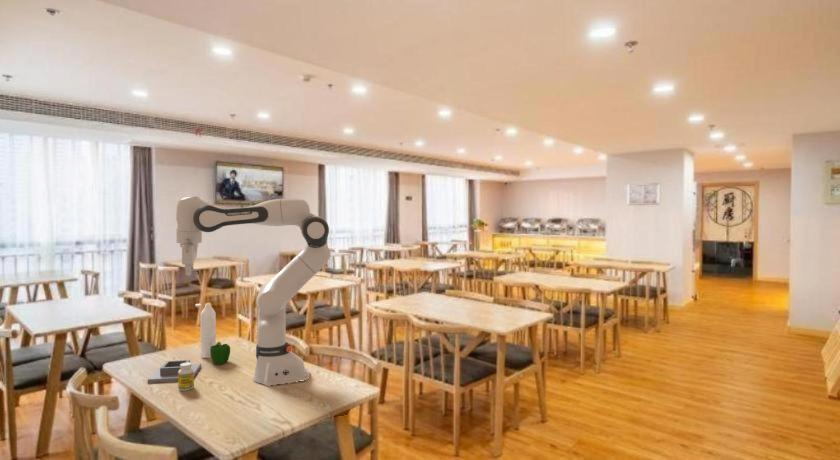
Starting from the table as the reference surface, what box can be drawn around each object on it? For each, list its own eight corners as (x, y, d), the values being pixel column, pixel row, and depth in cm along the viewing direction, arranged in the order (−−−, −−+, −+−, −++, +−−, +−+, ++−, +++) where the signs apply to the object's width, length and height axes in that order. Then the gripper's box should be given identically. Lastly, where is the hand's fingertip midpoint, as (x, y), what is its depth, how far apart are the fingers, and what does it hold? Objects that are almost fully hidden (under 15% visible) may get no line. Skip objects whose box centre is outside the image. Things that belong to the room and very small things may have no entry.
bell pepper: (219, 358, 214) (219, 337, 213) (234, 361, 211) (234, 339, 211) (205, 364, 206) (205, 342, 206) (220, 367, 203) (220, 344, 203)
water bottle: (213, 353, 222) (213, 301, 221) (217, 356, 217) (217, 303, 215) (193, 356, 216) (193, 303, 215) (197, 360, 211) (197, 305, 210)
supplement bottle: (192, 384, 184) (192, 360, 183) (194, 389, 179) (194, 364, 179) (177, 387, 181) (177, 363, 180) (179, 392, 176) (178, 367, 176)
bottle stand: (200, 366, 203) (200, 356, 203) (191, 380, 188) (191, 369, 187) (160, 368, 200) (160, 358, 199) (147, 383, 184) (147, 371, 184)
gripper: (196, 240, 174) (196, 277, 174) (199, 236, 192) (200, 269, 193) (177, 240, 171) (177, 277, 172) (182, 236, 190) (183, 270, 191)
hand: (189, 273), depth 183 cm, fingers open, 8 cm apart
